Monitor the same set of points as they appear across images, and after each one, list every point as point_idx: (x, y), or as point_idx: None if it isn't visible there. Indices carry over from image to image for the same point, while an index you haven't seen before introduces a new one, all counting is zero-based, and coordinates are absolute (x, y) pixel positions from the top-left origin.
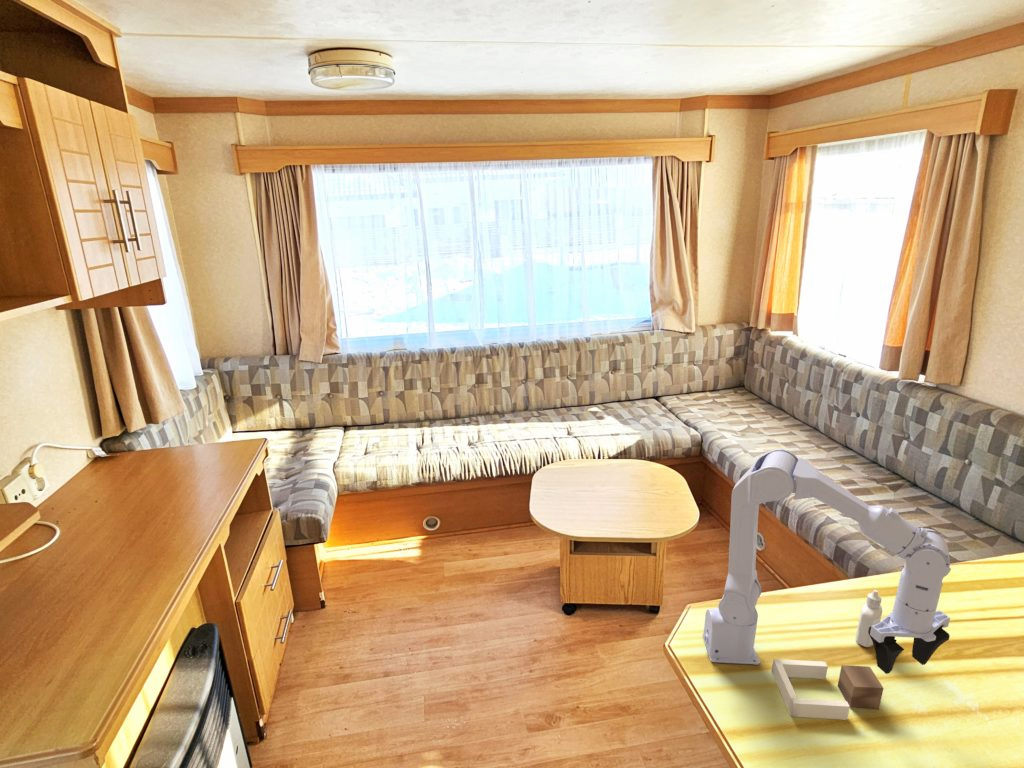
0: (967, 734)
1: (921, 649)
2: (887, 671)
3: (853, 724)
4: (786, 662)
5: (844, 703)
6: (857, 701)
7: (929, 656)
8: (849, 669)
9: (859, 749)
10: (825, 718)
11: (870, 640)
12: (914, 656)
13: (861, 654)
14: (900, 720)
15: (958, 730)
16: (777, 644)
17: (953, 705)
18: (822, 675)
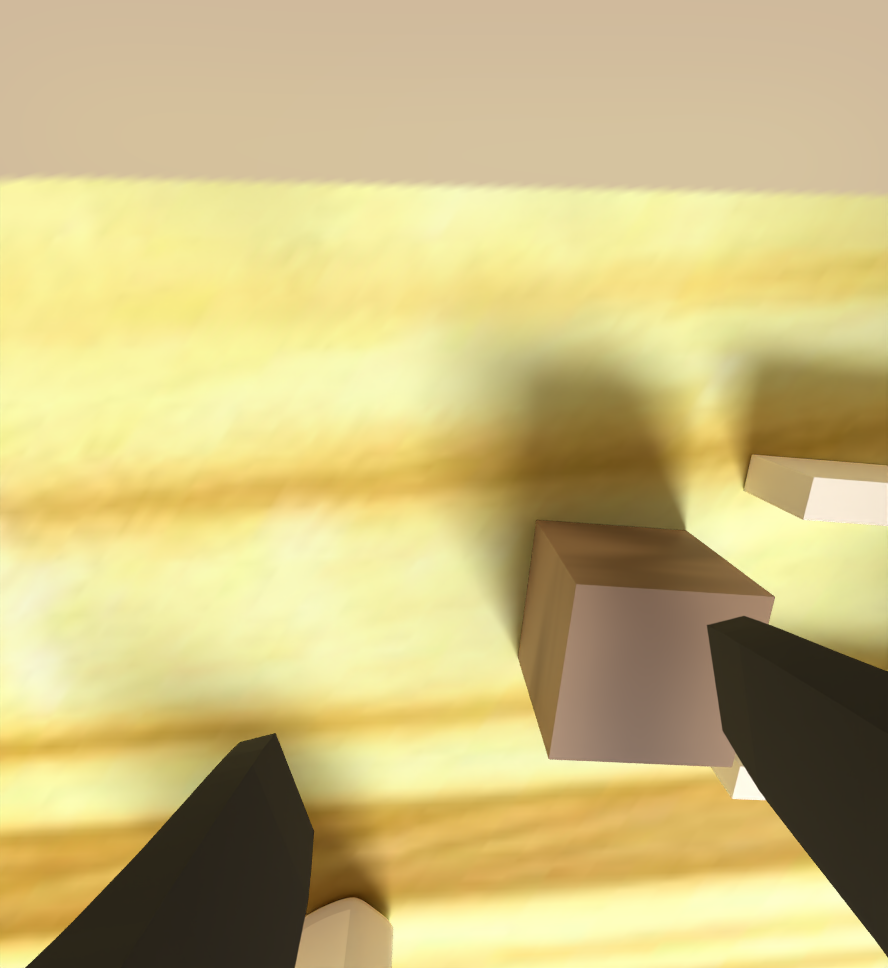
0: (131, 355)
1: (237, 939)
2: (772, 628)
3: (735, 425)
4: None
5: (829, 501)
6: (673, 545)
7: (181, 831)
8: (703, 734)
9: (811, 262)
10: (860, 463)
11: (337, 944)
12: (302, 834)
13: (407, 855)
14: (460, 450)
15: (168, 382)
16: (797, 900)
17: (97, 548)
18: None
